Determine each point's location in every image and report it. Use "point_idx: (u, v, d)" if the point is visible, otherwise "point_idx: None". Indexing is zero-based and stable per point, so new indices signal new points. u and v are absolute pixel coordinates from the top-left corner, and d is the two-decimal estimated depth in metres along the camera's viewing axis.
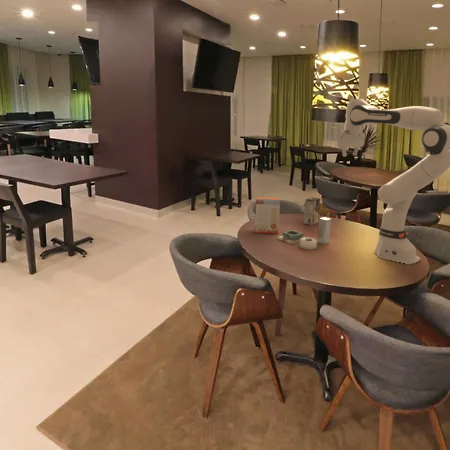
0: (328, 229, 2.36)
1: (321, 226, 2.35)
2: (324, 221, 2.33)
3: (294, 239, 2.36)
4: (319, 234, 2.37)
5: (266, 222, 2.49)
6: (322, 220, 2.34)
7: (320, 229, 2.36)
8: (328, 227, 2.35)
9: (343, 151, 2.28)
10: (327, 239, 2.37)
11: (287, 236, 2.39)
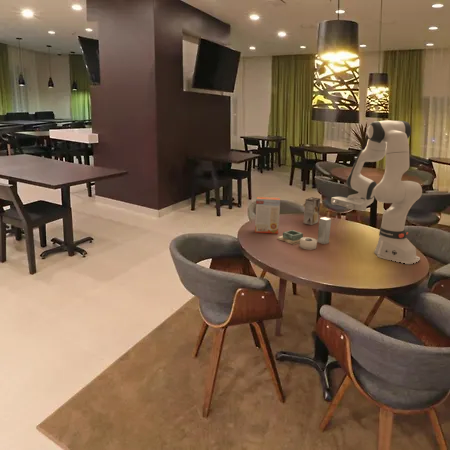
0: (328, 229, 2.36)
1: (321, 226, 2.35)
2: (324, 221, 2.33)
3: (294, 239, 2.36)
4: (319, 234, 2.37)
5: (266, 222, 2.50)
6: (322, 220, 2.34)
7: (320, 229, 2.36)
8: (328, 227, 2.35)
9: None
10: (327, 239, 2.37)
11: (287, 236, 2.39)
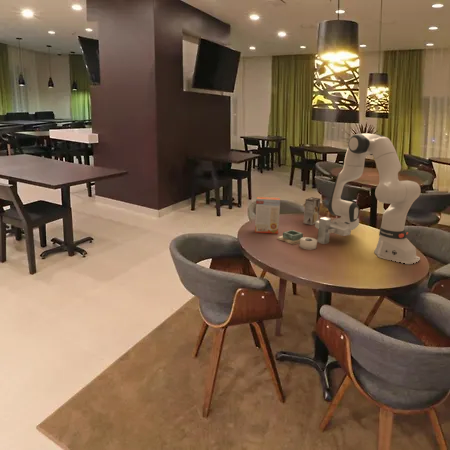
0: None
1: (321, 226, 2.35)
2: (324, 221, 2.33)
3: (294, 239, 2.36)
4: (319, 234, 2.37)
5: (266, 222, 2.50)
6: (322, 220, 2.34)
7: (320, 229, 2.36)
8: (328, 227, 2.35)
9: None
10: (327, 239, 2.37)
11: (287, 236, 2.39)
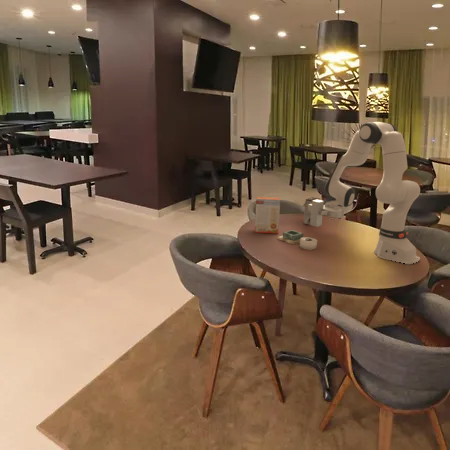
0: None
1: (314, 209, 2.34)
2: (317, 203, 2.31)
3: (294, 239, 2.36)
4: (312, 217, 2.35)
5: (266, 222, 2.50)
6: (315, 202, 2.32)
7: (313, 212, 2.34)
8: (321, 209, 2.33)
9: None
10: (320, 222, 2.36)
11: (287, 236, 2.39)
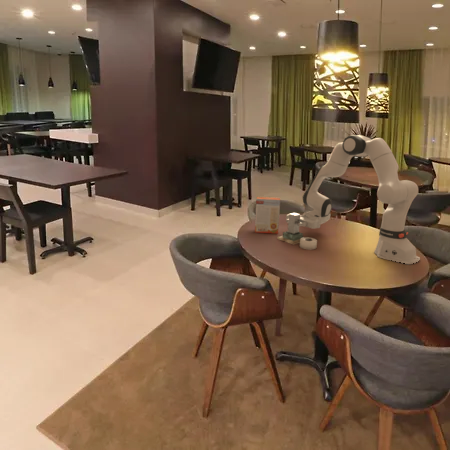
0: None
1: (290, 222, 2.38)
2: (293, 216, 2.35)
3: (294, 239, 2.36)
4: (289, 230, 2.39)
5: (266, 222, 2.49)
6: (291, 215, 2.36)
7: (289, 225, 2.38)
8: (297, 222, 2.37)
9: None
10: None
11: (287, 236, 2.39)
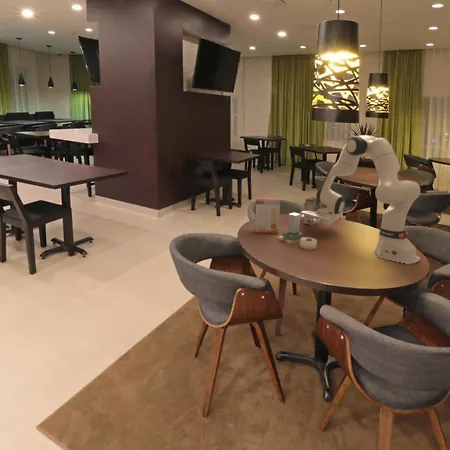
0: (298, 224, 2.38)
1: (290, 222, 2.38)
2: (293, 216, 2.35)
3: (294, 239, 2.36)
4: (289, 230, 2.39)
5: (266, 222, 2.49)
6: (291, 215, 2.36)
7: (289, 225, 2.38)
8: (297, 222, 2.37)
9: None
10: None
11: (287, 236, 2.39)
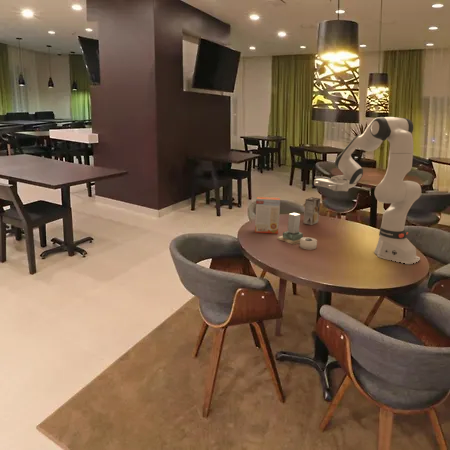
0: (298, 224, 2.38)
1: (290, 222, 2.38)
2: (293, 216, 2.35)
3: (294, 239, 2.36)
4: (289, 230, 2.39)
5: (266, 222, 2.49)
6: (291, 215, 2.36)
7: (289, 225, 2.38)
8: (297, 222, 2.37)
9: None
10: None
11: (287, 236, 2.39)
